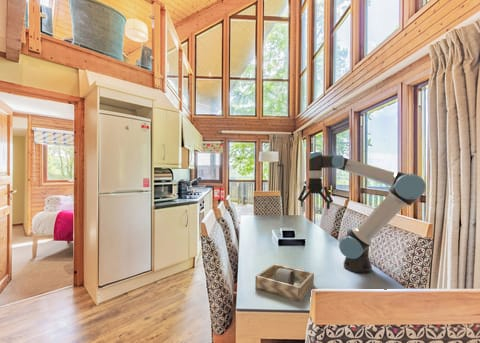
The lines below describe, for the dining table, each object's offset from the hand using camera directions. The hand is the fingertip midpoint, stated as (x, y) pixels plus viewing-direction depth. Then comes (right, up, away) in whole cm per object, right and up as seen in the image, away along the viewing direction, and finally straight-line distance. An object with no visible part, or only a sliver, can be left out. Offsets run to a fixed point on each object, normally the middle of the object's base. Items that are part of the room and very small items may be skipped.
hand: (314, 213), depth 150 cm
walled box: (-23, -31, -27) cm, 47 cm away
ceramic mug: (-24, -30, -29) cm, 48 cm away
